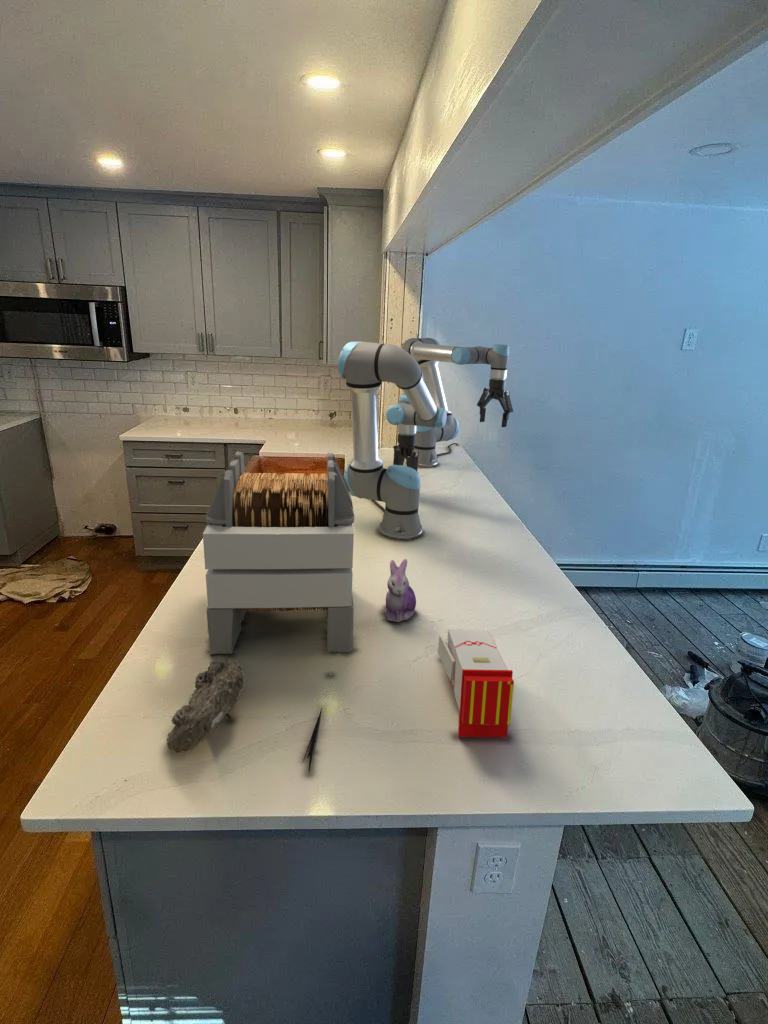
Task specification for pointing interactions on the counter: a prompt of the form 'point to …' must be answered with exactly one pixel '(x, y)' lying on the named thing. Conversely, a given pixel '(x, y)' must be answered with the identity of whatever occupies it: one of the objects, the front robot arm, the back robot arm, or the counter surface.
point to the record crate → (279, 550)
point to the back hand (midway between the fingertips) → (492, 424)
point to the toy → (478, 682)
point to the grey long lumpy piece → (206, 705)
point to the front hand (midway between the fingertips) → (404, 488)
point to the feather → (313, 740)
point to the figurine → (399, 594)
